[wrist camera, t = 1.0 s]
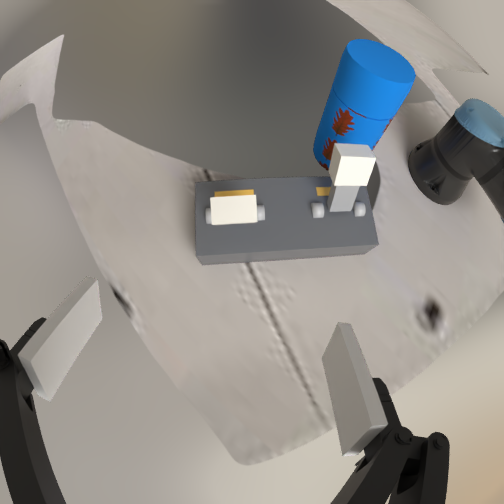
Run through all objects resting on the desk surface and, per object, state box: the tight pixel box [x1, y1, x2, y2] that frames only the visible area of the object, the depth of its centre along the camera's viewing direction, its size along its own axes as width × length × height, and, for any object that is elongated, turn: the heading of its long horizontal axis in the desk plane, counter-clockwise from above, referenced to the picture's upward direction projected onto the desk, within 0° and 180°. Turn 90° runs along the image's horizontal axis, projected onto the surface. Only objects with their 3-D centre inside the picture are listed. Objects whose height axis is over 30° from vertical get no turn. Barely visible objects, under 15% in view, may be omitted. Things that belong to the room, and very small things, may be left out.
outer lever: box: [210, 195, 258, 225], centre depth 36 cm, size 5×3×11 cm, turn 94°
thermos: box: [313, 39, 416, 171], centre depth 41 cm, size 11×11×25 cm
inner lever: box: [327, 143, 376, 212], centre depth 38 cm, size 5×3×11 cm, turn 94°
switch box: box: [195, 177, 379, 265], centre depth 45 cm, size 28×12×7 cm, turn 94°
